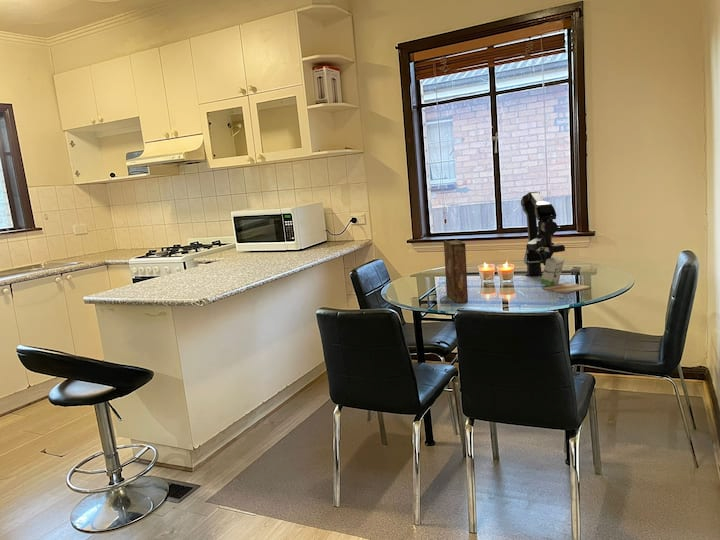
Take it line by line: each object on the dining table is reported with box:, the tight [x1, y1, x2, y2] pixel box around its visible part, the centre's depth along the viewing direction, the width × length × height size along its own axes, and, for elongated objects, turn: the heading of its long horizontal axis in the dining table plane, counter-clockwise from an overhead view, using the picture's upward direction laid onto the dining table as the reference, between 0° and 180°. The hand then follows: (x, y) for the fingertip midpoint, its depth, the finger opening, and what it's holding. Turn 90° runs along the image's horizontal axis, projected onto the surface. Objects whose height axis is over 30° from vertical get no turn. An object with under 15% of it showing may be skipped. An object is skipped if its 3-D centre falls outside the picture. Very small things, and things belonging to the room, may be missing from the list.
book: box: [443, 239, 469, 304], centre depth 232 cm, size 16×6×25 cm, turn 5°
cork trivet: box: [542, 282, 592, 295], centre depth 236 cm, size 13×15×1 cm
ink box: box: [540, 256, 565, 287], centre depth 243 cm, size 9×5×12 cm, turn 134°
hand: (545, 265), depth 246 cm, fingers closed
